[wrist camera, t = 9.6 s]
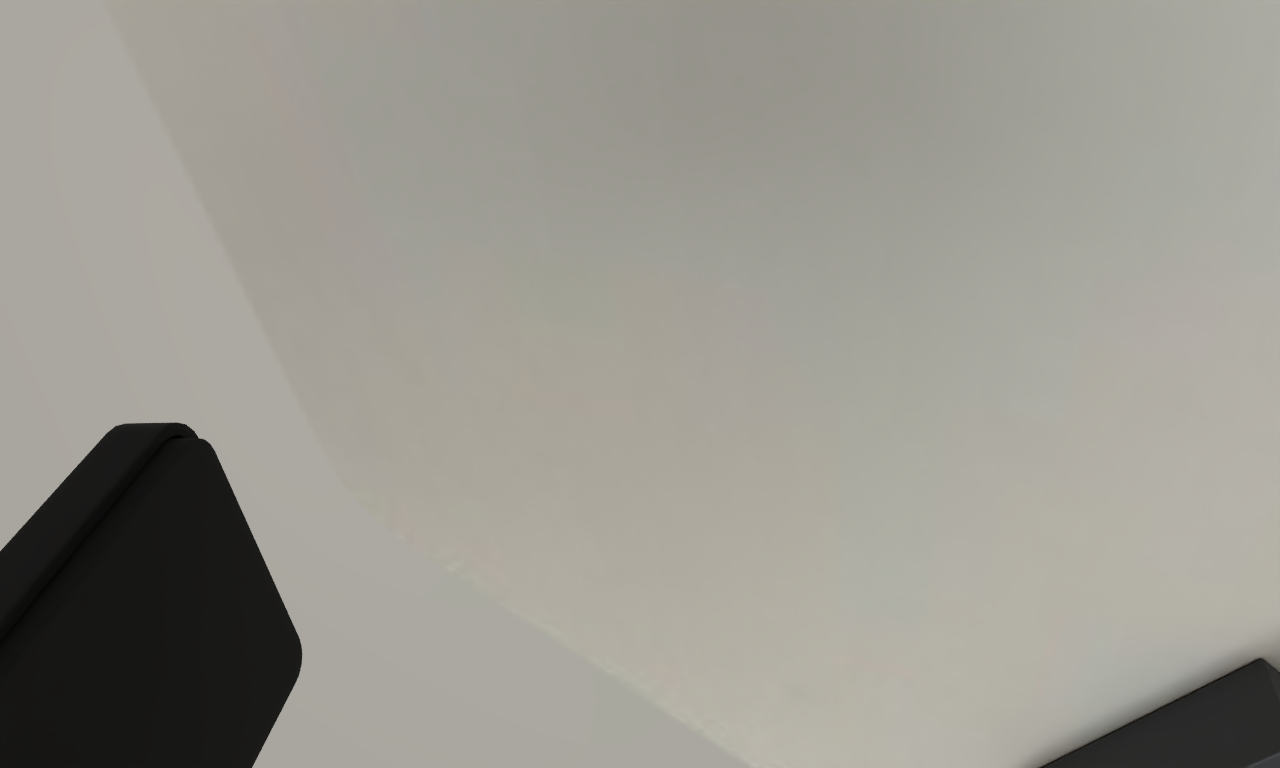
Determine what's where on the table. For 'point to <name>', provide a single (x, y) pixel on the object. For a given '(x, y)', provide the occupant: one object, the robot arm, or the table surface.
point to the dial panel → (1199, 729)
